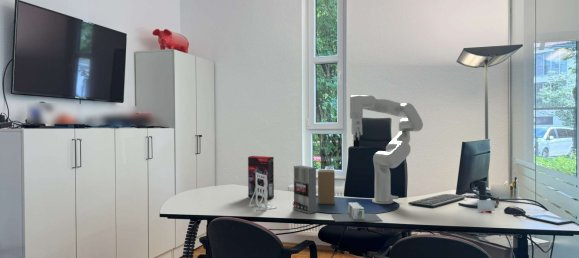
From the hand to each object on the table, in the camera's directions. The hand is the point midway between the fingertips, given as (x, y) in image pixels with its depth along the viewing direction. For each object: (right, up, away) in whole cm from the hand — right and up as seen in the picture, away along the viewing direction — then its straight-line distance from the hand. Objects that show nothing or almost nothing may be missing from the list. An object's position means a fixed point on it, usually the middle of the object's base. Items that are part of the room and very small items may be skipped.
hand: (356, 146), depth 237 cm
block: (-17, -35, +9) cm, 40 cm away
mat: (-5, -36, -28) cm, 46 cm away
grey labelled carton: (-31, -36, -12) cm, 49 cm away
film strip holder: (-56, -36, -3) cm, 66 cm away
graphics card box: (-59, -35, +25) cm, 73 cm away
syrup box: (-5, -33, -18) cm, 37 cm away
